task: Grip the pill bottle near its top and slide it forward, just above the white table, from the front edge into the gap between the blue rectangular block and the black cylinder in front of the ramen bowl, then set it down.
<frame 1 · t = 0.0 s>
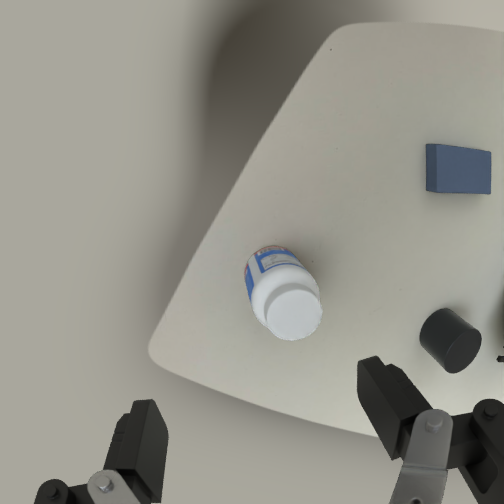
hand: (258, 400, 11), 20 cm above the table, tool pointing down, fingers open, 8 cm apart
pill bottle: (272, 271, 31), on the table
black cylinder: (437, 329, 36), on the table
blue rectangular block: (455, 169, 30), on the table
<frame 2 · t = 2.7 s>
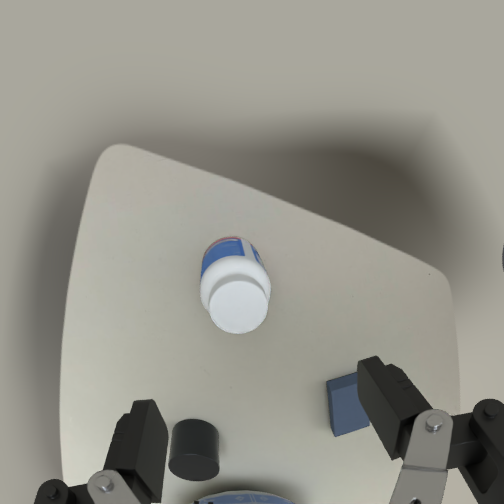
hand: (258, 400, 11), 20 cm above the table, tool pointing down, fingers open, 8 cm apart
pill bottle: (231, 262, 31), on the table
ramen bowl: (238, 500, 42), on the table
black cylinder: (195, 434, 36), on the table
blue rectangular block: (347, 400, 37), on the table
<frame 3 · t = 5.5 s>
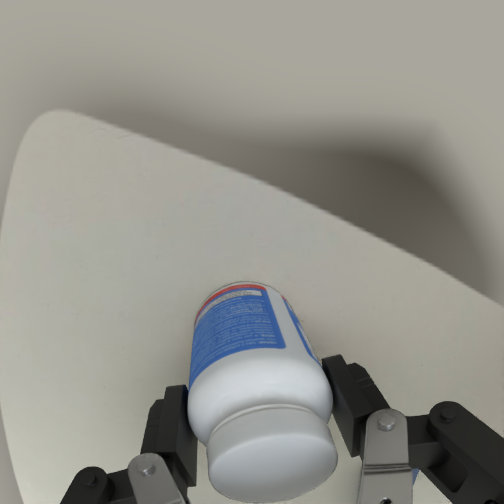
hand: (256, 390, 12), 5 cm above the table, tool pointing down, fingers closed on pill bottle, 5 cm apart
pill bottle: (245, 324, 17), on the table, touching gripper
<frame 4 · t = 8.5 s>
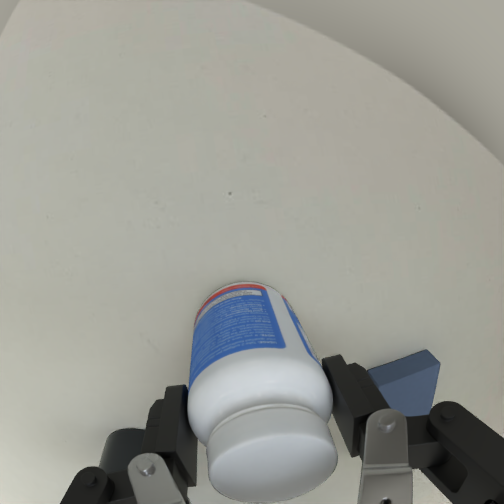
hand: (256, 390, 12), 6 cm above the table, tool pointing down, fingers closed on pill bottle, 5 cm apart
pill bottle: (245, 324, 17), point 1 cm above the table, touching gripper
black cylinder: (142, 452, 21), on the table
blue rectangular block: (394, 402, 21), on the table
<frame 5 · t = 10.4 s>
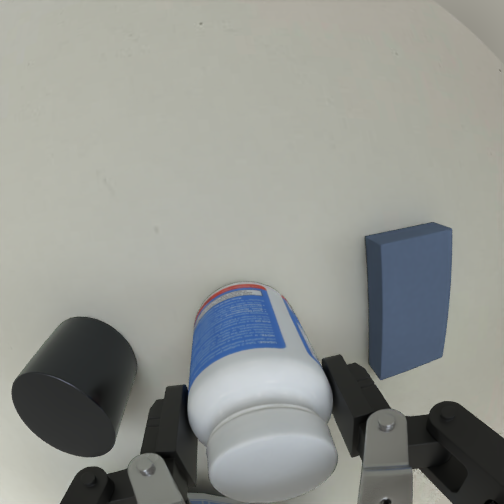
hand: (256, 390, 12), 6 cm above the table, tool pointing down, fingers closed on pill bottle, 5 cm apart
pill bottle: (245, 324, 17), point 1 cm above the table, touching gripper
black cylinder: (92, 357, 18), on the table
blue rectangular block: (402, 297, 19), on the table
when the fingers open (5 cm above the table, at t = 11.5 s): pill bottle stays where it is, on the table.
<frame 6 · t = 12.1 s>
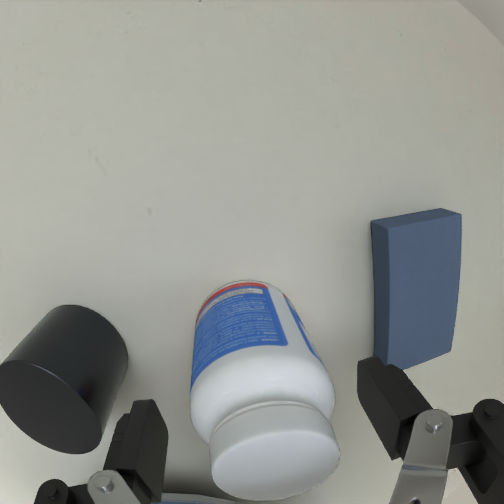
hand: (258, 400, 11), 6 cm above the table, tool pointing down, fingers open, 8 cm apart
pill bottle: (246, 322, 17), on the table
black cylinder: (82, 349, 17), on the table
blue rectangular block: (409, 287, 18), on the table
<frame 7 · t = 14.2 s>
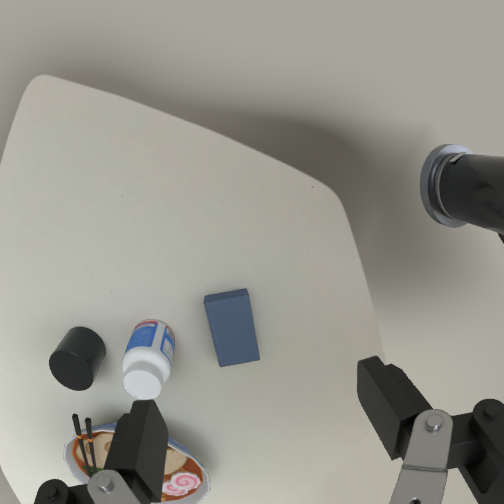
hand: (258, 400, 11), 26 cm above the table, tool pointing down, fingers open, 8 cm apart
pill bottle: (154, 336, 38), on the table
ramen bowl: (140, 444, 43), on the table
black cylinder: (85, 346, 37), on the table
blue rectangular block: (232, 325, 39), on the table
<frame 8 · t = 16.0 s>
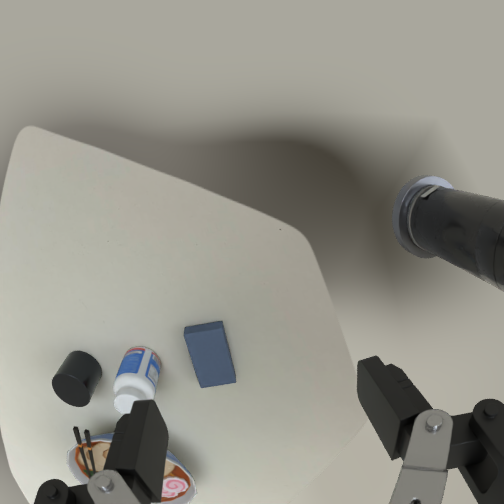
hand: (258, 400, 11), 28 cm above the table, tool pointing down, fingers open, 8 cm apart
pill bottle: (143, 360, 42), on the table
ramen bowl: (136, 451, 47), on the table
black cylinder: (83, 367, 41), on the table
blue rectangular block: (211, 352, 42), on the table
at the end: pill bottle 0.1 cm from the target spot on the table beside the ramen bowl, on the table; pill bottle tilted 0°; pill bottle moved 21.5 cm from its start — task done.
